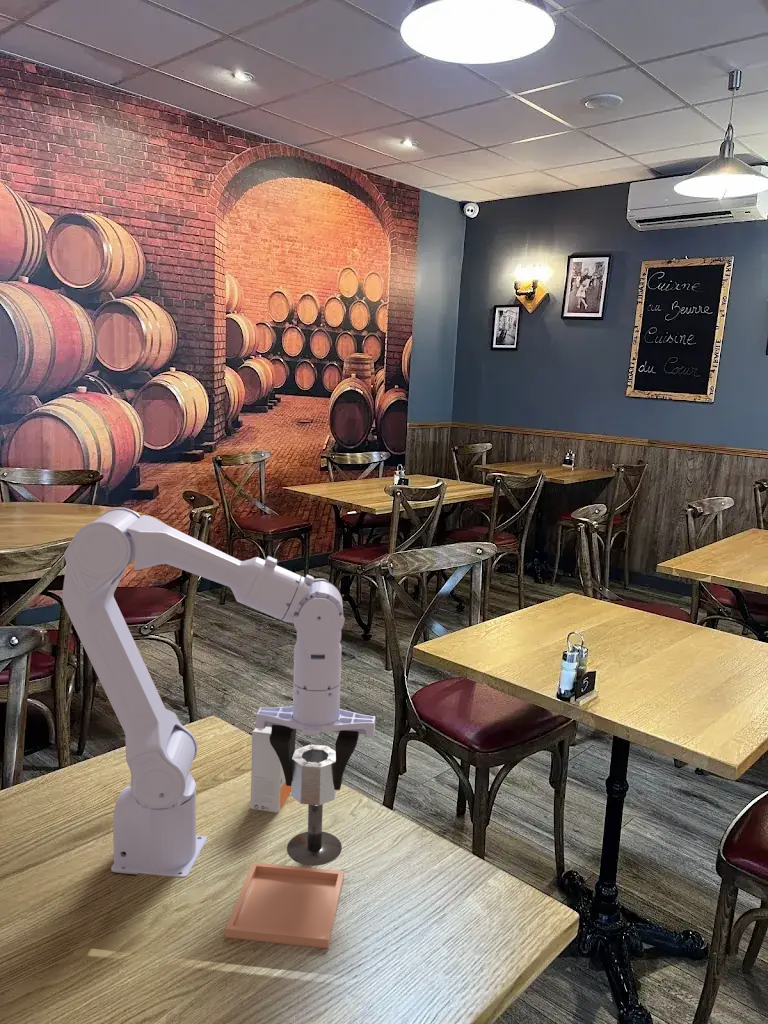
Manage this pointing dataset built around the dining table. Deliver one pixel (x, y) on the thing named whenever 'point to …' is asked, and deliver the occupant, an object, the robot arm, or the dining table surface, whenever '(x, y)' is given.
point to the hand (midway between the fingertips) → (314, 783)
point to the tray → (287, 905)
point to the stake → (314, 842)
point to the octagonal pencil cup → (313, 774)
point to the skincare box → (266, 774)
